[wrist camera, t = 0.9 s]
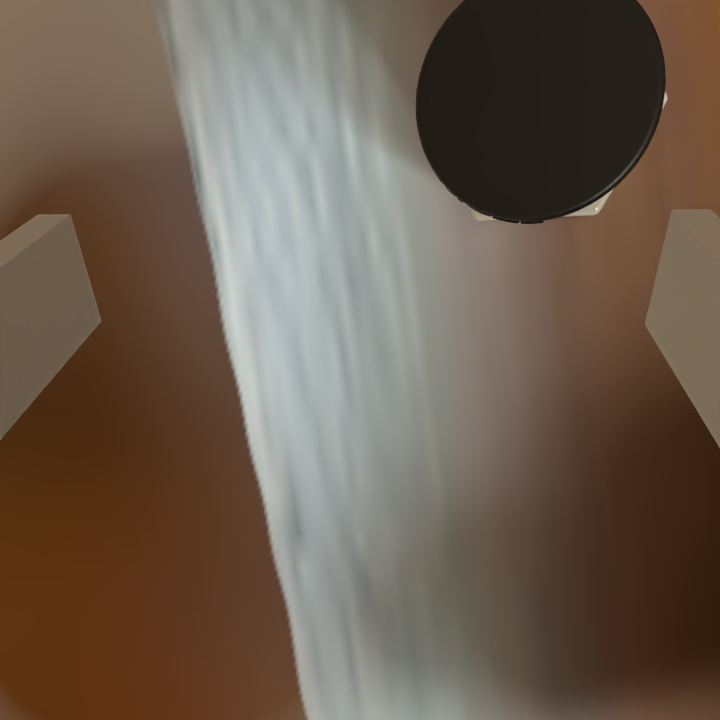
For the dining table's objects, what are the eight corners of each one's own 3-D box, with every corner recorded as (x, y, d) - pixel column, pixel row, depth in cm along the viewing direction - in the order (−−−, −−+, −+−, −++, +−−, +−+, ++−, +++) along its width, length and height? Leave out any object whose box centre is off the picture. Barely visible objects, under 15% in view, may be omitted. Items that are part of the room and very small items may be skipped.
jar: (428, 113, 34) (363, 60, 22) (569, 10, 31) (577, -111, 20) (514, 258, 34) (493, 277, 23) (663, 169, 31) (723, 140, 20)
